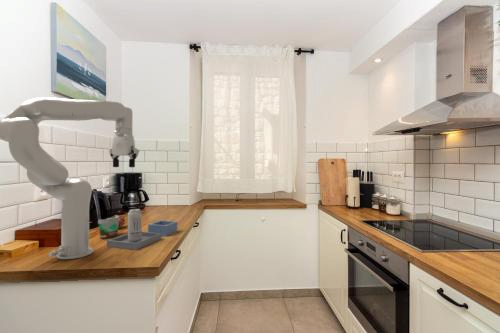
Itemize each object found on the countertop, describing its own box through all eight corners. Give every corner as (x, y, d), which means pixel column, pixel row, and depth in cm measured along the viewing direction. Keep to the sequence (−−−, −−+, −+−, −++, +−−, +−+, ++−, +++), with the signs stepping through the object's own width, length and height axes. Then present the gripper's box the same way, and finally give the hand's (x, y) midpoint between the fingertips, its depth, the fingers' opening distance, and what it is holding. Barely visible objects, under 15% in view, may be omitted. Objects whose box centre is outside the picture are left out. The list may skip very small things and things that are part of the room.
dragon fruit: (124, 228, 156) (111, 236, 144) (113, 220, 156) (99, 227, 144) (131, 218, 154) (118, 225, 142) (119, 209, 154) (106, 216, 142)
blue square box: (165, 236, 133) (165, 225, 133) (148, 234, 136) (148, 224, 136) (177, 231, 144) (177, 221, 144) (160, 229, 147) (160, 220, 147)
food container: (108, 240, 126) (108, 220, 126) (97, 239, 127) (97, 219, 127) (125, 233, 138) (125, 215, 138) (115, 233, 139) (115, 214, 139)
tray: (136, 250, 111) (136, 243, 111) (106, 246, 116) (106, 240, 116) (161, 238, 129) (161, 233, 129) (135, 236, 133) (135, 230, 133)
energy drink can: (131, 243, 118) (131, 211, 118) (125, 241, 122) (125, 209, 122) (143, 240, 122) (143, 209, 122) (138, 238, 126) (138, 208, 126)
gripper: (103, 132, 124) (103, 167, 124) (133, 131, 119) (132, 167, 119) (115, 134, 132) (115, 167, 132) (143, 133, 127) (143, 167, 127)
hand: (123, 167), depth 126 cm, fingers open, 9 cm apart
